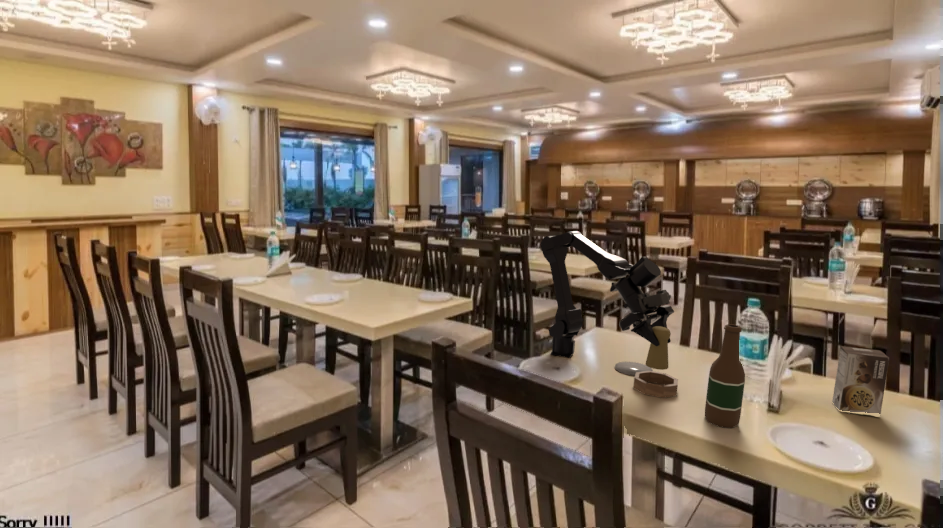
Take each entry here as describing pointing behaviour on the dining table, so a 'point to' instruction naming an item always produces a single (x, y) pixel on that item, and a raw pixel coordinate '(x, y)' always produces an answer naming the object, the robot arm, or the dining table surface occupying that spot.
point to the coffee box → (860, 380)
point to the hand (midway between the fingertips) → (663, 344)
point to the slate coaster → (631, 368)
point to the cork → (659, 349)
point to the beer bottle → (726, 382)
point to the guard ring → (653, 389)
